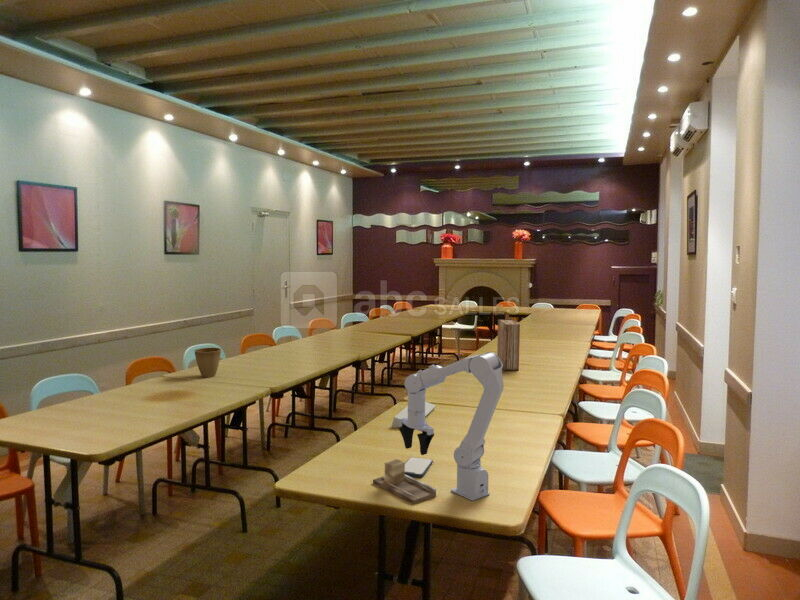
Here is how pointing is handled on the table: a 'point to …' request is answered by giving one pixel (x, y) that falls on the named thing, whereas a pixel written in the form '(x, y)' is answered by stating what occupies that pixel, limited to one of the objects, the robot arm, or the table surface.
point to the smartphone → (417, 467)
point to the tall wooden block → (508, 343)
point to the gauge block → (394, 471)
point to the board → (408, 489)
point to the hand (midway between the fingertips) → (416, 451)
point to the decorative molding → (404, 414)
